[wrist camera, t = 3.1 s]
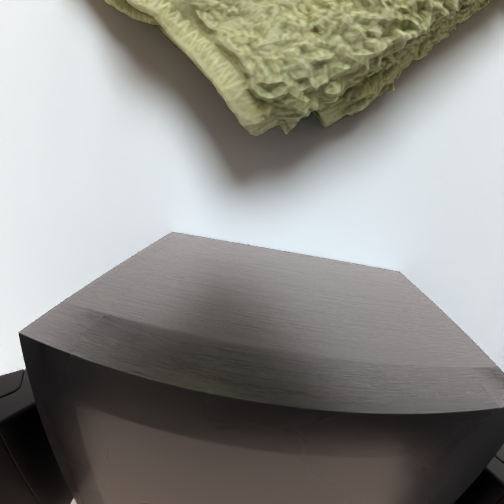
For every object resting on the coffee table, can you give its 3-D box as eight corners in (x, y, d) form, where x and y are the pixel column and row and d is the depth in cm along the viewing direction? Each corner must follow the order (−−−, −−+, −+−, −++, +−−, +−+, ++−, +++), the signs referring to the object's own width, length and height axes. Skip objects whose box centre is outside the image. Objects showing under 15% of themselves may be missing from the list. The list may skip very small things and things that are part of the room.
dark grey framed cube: (399, 271, 8) (530, 403, 3) (338, 435, 10) (359, 578, 4) (171, 232, 9) (18, 332, 3) (162, 408, 10) (100, 544, 4)
